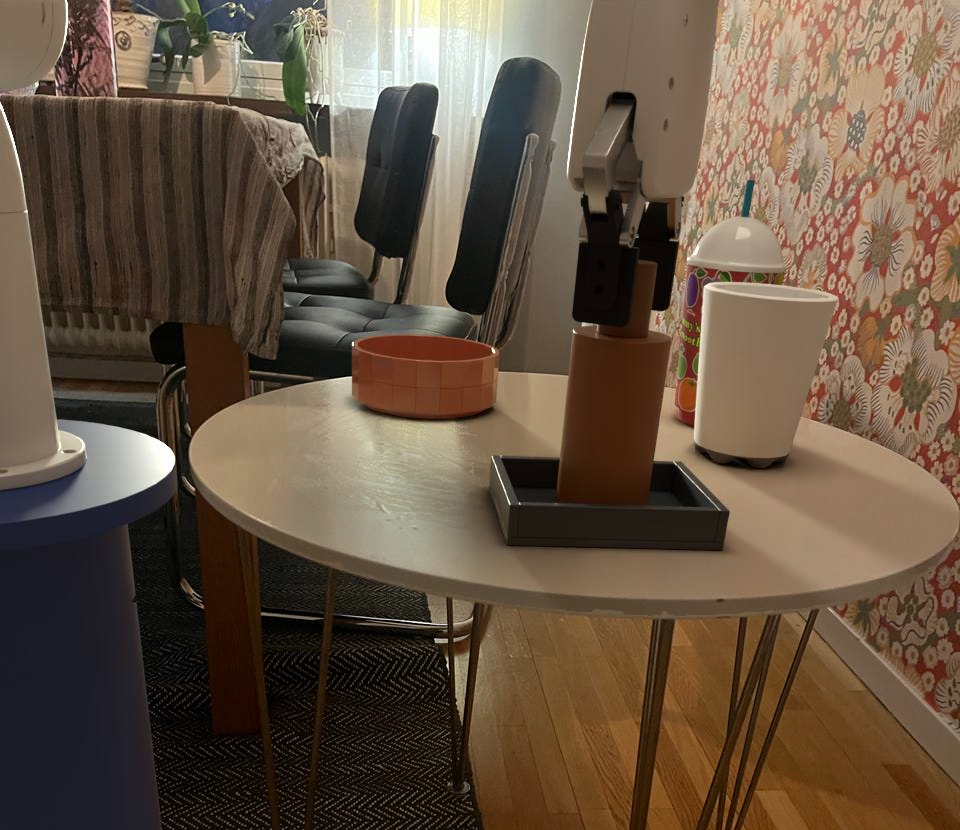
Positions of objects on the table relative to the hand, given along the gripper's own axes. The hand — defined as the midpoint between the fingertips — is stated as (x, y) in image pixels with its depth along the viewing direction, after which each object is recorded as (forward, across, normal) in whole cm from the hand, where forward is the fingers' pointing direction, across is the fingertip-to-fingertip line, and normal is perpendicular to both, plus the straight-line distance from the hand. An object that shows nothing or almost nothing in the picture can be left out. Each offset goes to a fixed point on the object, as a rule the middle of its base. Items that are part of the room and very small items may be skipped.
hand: (623, 314), depth 55 cm
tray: (+13, 0, 0) cm, 13 cm away
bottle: (+12, 0, 0) cm, 12 cm away
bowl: (+13, -21, -24) cm, 34 cm away
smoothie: (+13, -31, 0) cm, 34 cm away
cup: (+13, -21, +5) cm, 25 cm away
